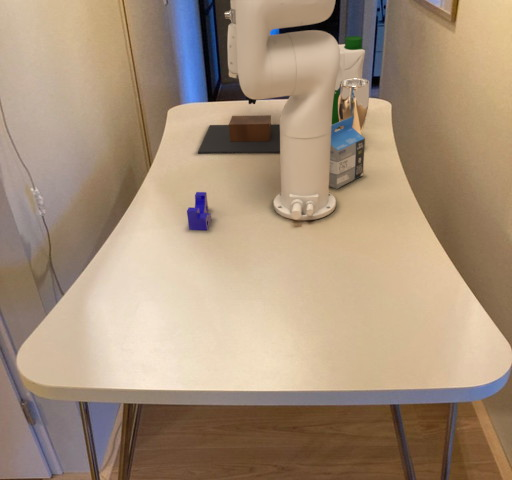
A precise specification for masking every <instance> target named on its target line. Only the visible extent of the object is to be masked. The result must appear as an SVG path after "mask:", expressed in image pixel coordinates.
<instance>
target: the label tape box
mask: <svg viewBox="0 0 512 480" xmlns="http://www.w3.org/2000/svg"><path fill="white" fill-rule="evenodd" d="M353 119H354V116H352V117H350V118H347V119H345V120H342V121H340V122H338V123H335V124H333V125H332V127H331V148H330V171H329V188H333V189H335V190H337V189H339V188H342V187H344V186H346V185H347V184H349V183H351V182H353V181H354V180H357V179H359V178H361V177H363V175H364V162H365V145H366V139H365V137H364V136H363V135H362V136H361V135H360V134H359V133H358V132H357V131H356V130H355V129H354V128H353V127H352V125H353ZM339 126H344V128H343V129H340V128H338V127H339ZM336 129H338V130H336ZM335 130H336V131H335Z"/></svg>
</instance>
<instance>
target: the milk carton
mask: <svg viewBox="0 0 512 480" xmlns="http://www.w3.org/2000/svg"><path fill="white" fill-rule="evenodd" d="M344 40H345V42H344V44H343V43H342V44H338V45H339V49H340V67H339V73H338V77H337V82H336V87H335V92H334V99H333V109H332V125H333V124H335V123H338V122H339V116H338V95H339V87H340V81H341V80H343V79H347V78H363V70H364V63H365V56H366V50H365V49H364V48H363V37H361V36H359V35H351V36H346V37H345V39H344ZM337 129H340V126H339V127H338V128H337Z"/></svg>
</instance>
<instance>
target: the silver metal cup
mask: <svg viewBox="0 0 512 480" xmlns="http://www.w3.org/2000/svg"><path fill="white" fill-rule="evenodd" d="M369 102H370V81H369V79H366V78H363V77H362V78H347V79H343V80H341V81H340V87H339V95H338V116H339V122H340V121H342V120H345V119H347V118H350V117H352V116H354V119H353V125H352V127H353V128H354V129H355V130H356V131H357V132H358V133H359V134H360V135H361V136H362V137H363V130H364V127H365V122H366V119H367V115H368V110H369V104H370V103H369ZM343 128H344V126H340V128H339V130H340V129H343Z"/></svg>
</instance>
